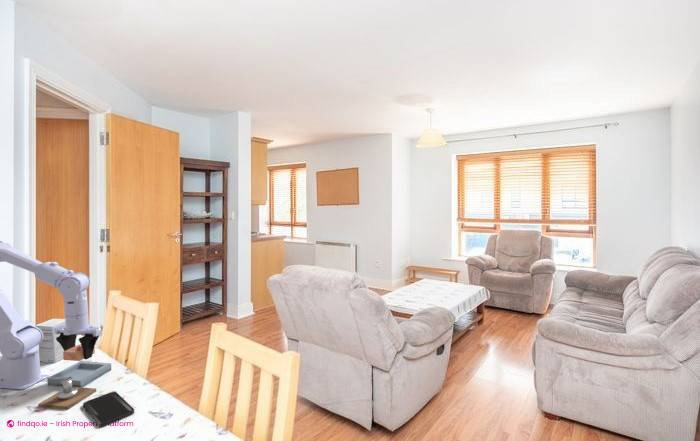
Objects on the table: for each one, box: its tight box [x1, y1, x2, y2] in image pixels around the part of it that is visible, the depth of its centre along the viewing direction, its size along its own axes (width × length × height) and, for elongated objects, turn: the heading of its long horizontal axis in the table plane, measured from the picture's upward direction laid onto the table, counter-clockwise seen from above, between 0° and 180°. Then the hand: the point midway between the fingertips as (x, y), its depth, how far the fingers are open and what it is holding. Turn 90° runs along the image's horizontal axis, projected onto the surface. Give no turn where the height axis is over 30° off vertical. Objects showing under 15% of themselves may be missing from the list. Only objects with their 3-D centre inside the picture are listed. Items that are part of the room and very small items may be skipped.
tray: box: [46, 360, 112, 388], centre depth 114 cm, size 11×11×2 cm
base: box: [37, 387, 97, 410], centre depth 102 cm, size 9×9×1 cm
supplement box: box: [34, 318, 66, 363], centre depth 128 cm, size 7×7×13 cm
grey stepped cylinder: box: [57, 377, 78, 400], centre depth 102 cm, size 4×4×5 cm
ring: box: [62, 343, 96, 362], centre depth 113 cm, size 6×6×2 cm
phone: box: [82, 391, 135, 428], centre depth 97 cm, size 8×1×15 cm
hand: (79, 357), depth 114 cm, fingers closed on ring, 5 cm apart
